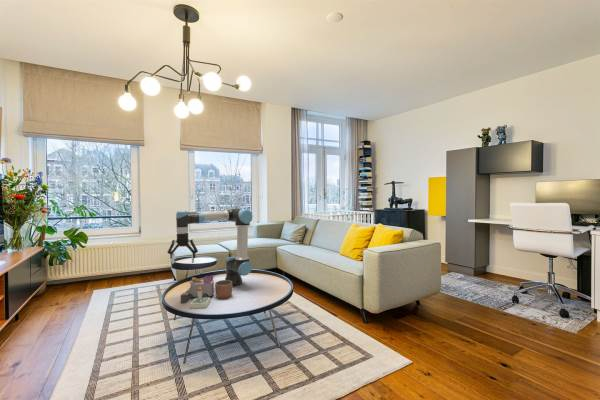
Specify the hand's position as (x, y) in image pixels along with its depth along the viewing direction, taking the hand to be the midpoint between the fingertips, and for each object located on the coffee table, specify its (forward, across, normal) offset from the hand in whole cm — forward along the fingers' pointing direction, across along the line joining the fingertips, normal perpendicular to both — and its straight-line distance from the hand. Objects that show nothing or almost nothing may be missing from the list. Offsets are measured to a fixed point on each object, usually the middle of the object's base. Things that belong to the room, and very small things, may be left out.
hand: (183, 263), depth 202 cm
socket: (+29, -13, -2) cm, 32 cm away
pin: (+28, -13, +6) cm, 31 cm away
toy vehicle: (+29, -8, -12) cm, 32 cm away
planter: (+29, -26, -10) cm, 40 cm away
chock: (+29, 0, -2) cm, 29 cm away
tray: (+29, -13, +6) cm, 32 cm away
